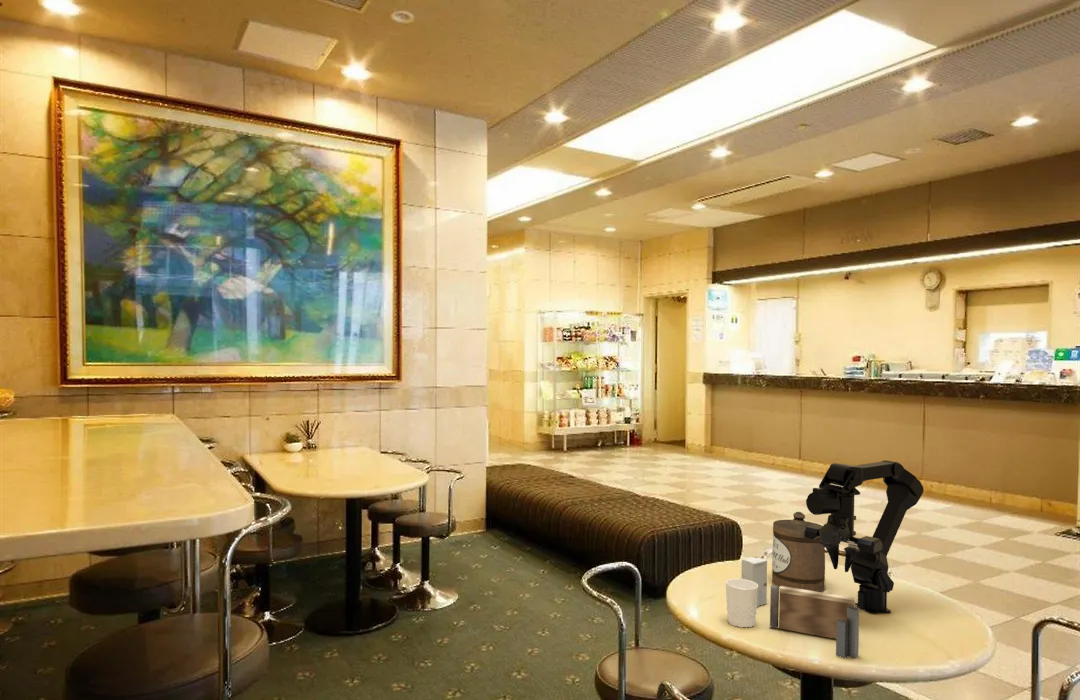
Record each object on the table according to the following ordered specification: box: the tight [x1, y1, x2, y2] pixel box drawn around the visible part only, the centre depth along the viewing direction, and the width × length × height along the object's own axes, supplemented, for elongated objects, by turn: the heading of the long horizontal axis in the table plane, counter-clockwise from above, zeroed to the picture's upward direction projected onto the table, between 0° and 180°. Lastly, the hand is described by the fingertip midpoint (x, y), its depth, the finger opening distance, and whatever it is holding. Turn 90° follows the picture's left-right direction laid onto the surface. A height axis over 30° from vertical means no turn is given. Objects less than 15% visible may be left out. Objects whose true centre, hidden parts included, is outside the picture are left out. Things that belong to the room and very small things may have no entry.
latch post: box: [835, 606, 860, 659], centre depth 151 cm, size 4×4×11 cm
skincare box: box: [740, 556, 768, 607], centre depth 183 cm, size 6×4×12 cm
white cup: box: [725, 578, 758, 629], centre depth 169 cm, size 8×8×10 cm
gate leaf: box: [769, 584, 856, 639], centre depth 163 cm, size 19×2×10 cm, turn 66°
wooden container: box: [771, 511, 826, 593], centre depth 198 cm, size 15×15×22 cm
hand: (841, 570), depth 175 cm, fingers open, 3 cm apart
